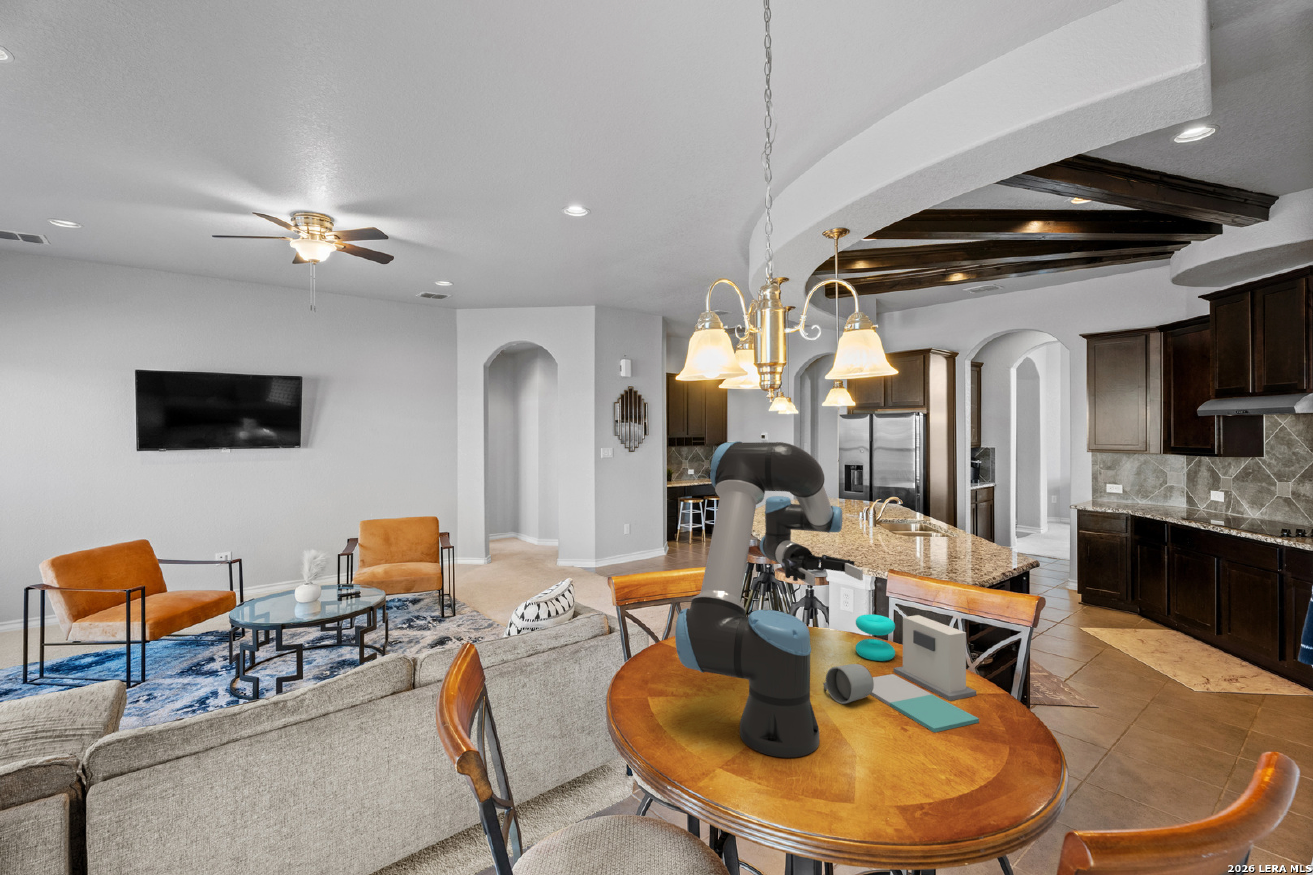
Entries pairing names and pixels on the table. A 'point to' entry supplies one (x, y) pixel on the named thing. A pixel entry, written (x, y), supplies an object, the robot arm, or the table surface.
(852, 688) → the ceramic mug
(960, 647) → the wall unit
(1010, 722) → the table surface
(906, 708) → the mat
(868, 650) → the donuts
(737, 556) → the robot arm
